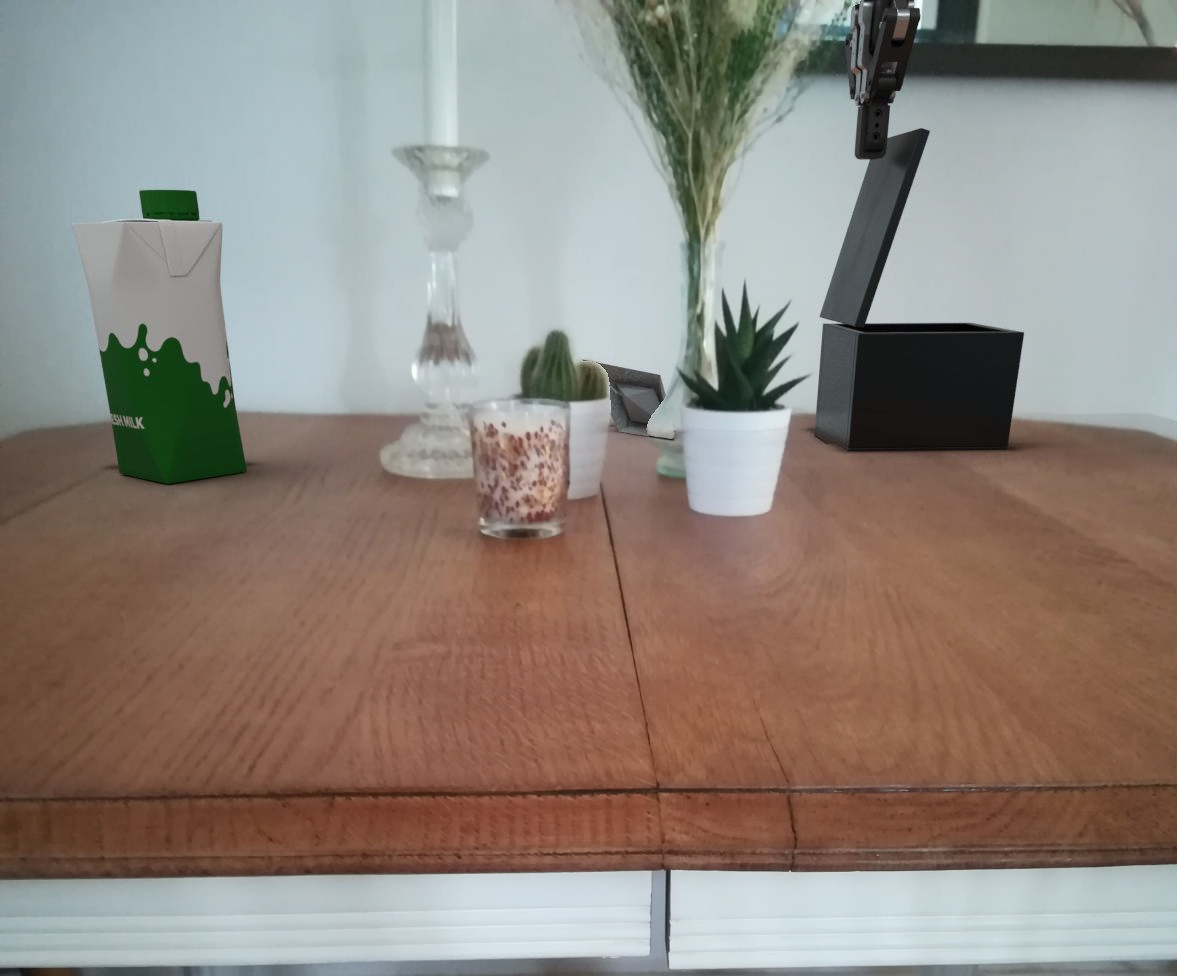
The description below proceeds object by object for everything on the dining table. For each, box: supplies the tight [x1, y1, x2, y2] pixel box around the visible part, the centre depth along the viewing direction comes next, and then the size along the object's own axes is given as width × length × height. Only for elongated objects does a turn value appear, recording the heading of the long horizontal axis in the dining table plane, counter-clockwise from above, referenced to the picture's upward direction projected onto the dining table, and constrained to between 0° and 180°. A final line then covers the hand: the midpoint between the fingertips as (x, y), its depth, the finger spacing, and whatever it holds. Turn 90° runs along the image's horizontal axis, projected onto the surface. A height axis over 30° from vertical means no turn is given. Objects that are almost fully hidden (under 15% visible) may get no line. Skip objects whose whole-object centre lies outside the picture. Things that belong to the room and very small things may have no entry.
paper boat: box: [582, 358, 667, 437], centre depth 109 cm, size 12×6×9 cm
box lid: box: [819, 127, 931, 328], centre depth 96 cm, size 14×13×1 cm
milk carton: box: [71, 189, 248, 485], centre depth 88 cm, size 9×9×20 cm
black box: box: [813, 322, 1025, 453], centre depth 101 cm, size 14×13×10 cm
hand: (869, 158), depth 94 cm, fingers closed
